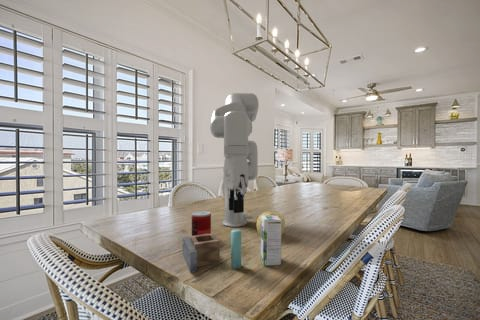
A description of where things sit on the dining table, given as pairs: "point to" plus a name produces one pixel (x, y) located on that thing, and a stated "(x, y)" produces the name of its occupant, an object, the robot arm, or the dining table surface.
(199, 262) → the brown wooden open box
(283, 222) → the sculpture
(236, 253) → the dowel
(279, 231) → the syrup box
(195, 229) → the canned food
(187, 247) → the wall
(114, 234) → the dining table surface
